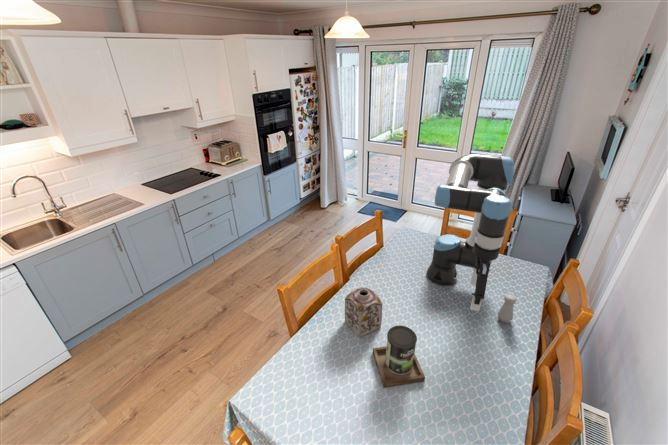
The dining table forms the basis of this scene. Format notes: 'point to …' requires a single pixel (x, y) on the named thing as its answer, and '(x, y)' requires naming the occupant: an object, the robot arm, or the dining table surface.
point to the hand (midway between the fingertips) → (474, 296)
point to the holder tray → (394, 379)
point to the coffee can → (400, 349)
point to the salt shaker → (507, 309)
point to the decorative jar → (363, 311)
